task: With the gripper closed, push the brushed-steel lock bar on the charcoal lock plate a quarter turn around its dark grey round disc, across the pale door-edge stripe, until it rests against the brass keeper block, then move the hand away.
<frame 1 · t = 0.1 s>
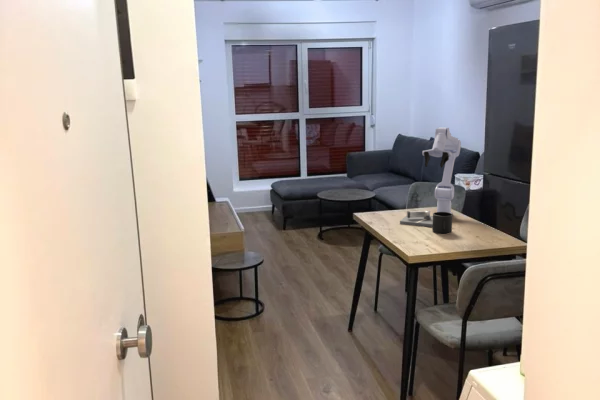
hand: (433, 165, 273), 32 cm above the table, tool tilted 50°, fingers open, 7 cm apart
lock plate: (424, 221, 290), on the table
dark grey round disc: (427, 221, 291), resting on lock plate
lock bar: (418, 214, 290), point 4 cm above the table, hinge at 0.0°
keeper: (436, 225, 284), resting on lock plate
mug: (442, 232, 271), on the table
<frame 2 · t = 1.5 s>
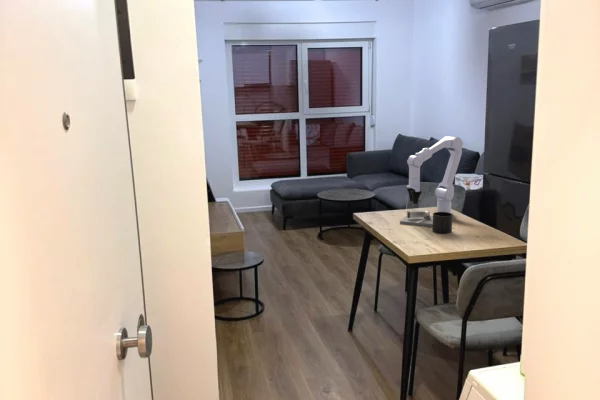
hand: (413, 202, 295), 9 cm above the table, tool pointing down, fingers open, 6 cm apart
nothing on the table moved.
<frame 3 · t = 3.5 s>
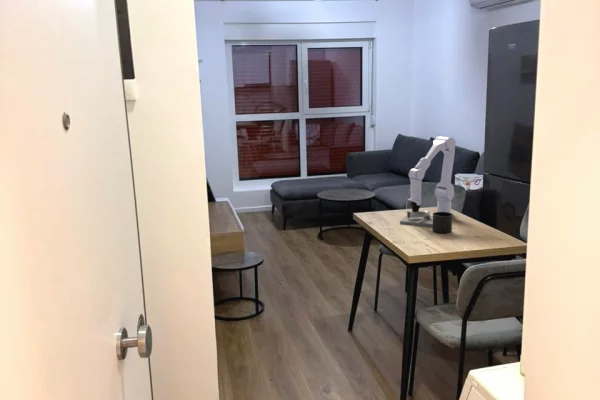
hand: (415, 215, 293), 3 cm above the table, tool pointing down, fingers closed
lock bar: (418, 214, 290), point 4 cm above the table, hinge at 0.0°, touching gripper
everything else where it was.
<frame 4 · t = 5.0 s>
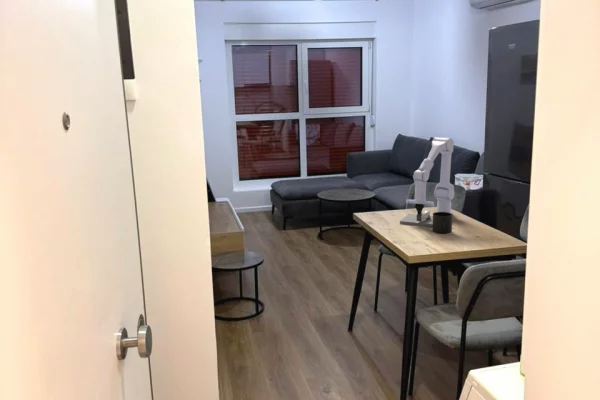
hand: (419, 217, 287), 3 cm above the table, tool pointing down, fingers closed, pressing on lock bar
lock bar: (423, 215, 287), point 4 cm above the table, hinge at 49.1°, touching gripper
everything else where it was.
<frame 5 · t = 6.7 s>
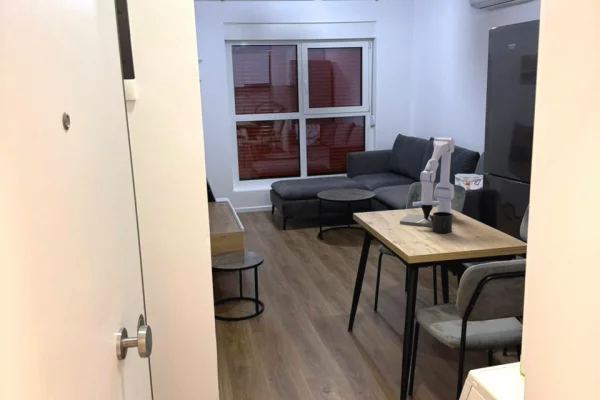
hand: (426, 219, 285), 3 cm above the table, tool pointing down, fingers closed
lock bar: (430, 216, 286), point 4 cm above the table, hinge at 90.6°, touching gripper
everything else where it was.
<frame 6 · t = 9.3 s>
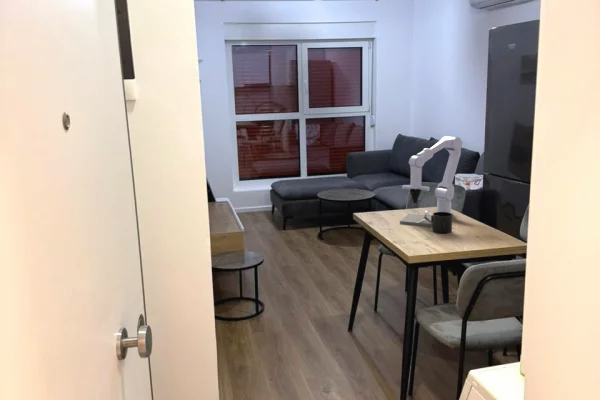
hand: (415, 202, 293), 9 cm above the table, tool pointing down, fingers closed
lock bar: (430, 216, 286), point 4 cm above the table, hinge at 90.7°
everything else where it was.
at the end: lock bar at +91° (first picture: +0°); mug moved 0.2 cm from its start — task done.
